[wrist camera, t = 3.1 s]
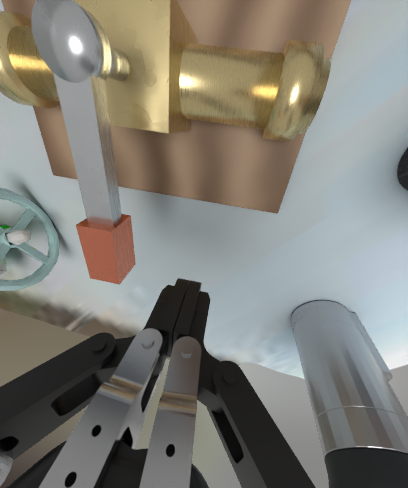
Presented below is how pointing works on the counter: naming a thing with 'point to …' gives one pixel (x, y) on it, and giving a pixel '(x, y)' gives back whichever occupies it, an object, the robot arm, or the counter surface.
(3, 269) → the valve
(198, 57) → the brass valve
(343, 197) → the counter surface
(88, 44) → the valve lever
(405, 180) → the travel mug
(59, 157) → the mounting board
